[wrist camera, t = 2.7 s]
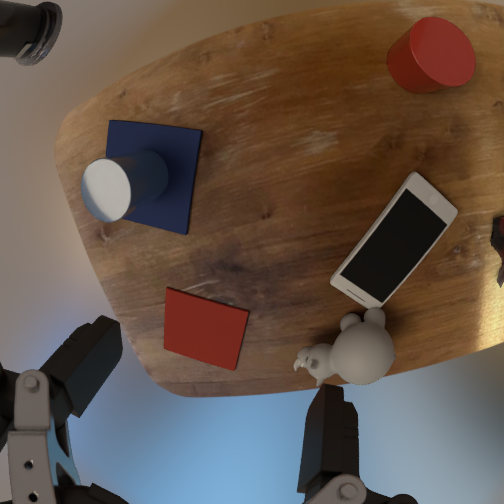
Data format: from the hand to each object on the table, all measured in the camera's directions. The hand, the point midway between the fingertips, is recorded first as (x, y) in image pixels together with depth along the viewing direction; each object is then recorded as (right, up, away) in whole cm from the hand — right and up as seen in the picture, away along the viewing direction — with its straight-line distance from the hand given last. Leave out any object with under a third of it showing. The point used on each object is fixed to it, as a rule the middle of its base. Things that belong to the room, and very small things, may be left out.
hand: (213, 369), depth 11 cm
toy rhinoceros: (+13, -5, +26) cm, 30 cm away
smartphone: (+17, +5, +21) cm, 27 cm away
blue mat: (-11, +13, +23) cm, 28 cm away
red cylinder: (+18, +23, +13) cm, 32 cm away
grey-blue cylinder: (-11, +13, +22) cm, 28 cm away
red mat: (-5, -6, +30) cm, 31 cm away
